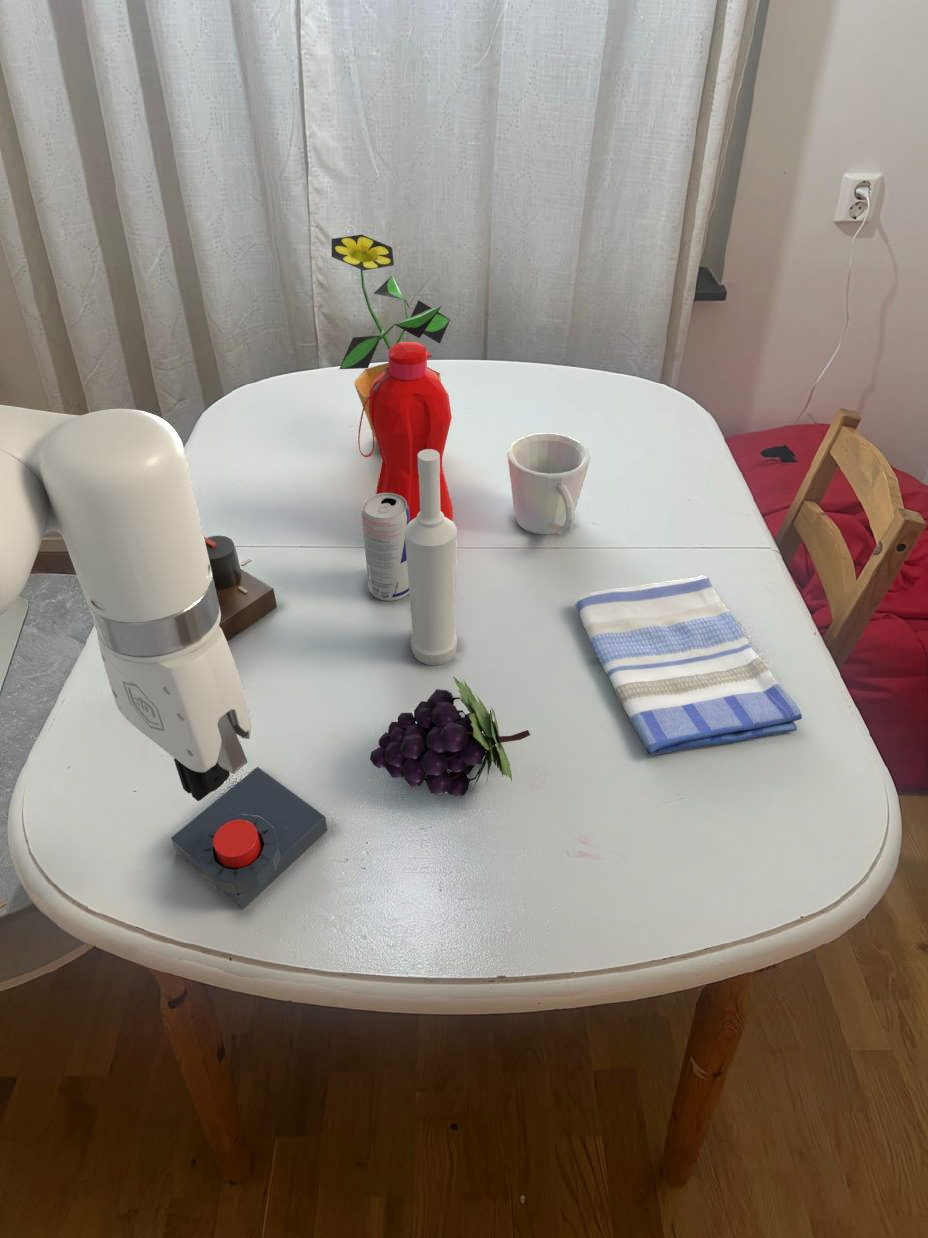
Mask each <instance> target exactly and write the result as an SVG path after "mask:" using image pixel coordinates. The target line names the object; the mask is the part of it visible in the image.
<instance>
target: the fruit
mask: <svg viewBox="0 0 928 1238" xmlns="http://www.w3.org/2000/svg"><path fill="white" fill-rule="evenodd" d="M452 678H453V680H454V683H455V685H456V687H457V688H458V692H459V696H460V697H458V696H457V697H454V695H453V694H452V692H450V691H448V690H446V689H440V688H439V689H438V688H436V689H435V690H434V691H433V693H432V694H431V695H430V696H429V698H427V699H426V700H424V701H422V700H420V702H419V703H418V705H417V706H416V707H415V708H414V710H413V712H400V714H399V715H398V716H397V721H391V722H390V724H389V725H388V729H387V732H386V731H385V732H384V733H383V734H382V735H381V737H379V739H378V746H379V747H376V748H375V749H374V750H372V751H371V752H370V756H369V757H370V758H369V760H370V761H371V764H372V765H373V766H374V767H376V768H378V769H385V770H386V771H387V772H388V774H389V776H390V777H391V778H393V779H403V780H404V781H405V782H406V784H407V785H408V786H409V787H410V788H418V787H421V786H422V785H423V783H424V782H425V784H426V786H427V789H428V791H429V793H430V794H433V795H442V794H445V793H446V794H448V795H450V796H453V797H456V798H461V797H463V796H464V795H465V794H466V793H467V792H468V791H469V787H470V782H471V781H475V782H474V785H473V788H472V790H471V792H470V794H469V795H471V794H472V792H473V790H474V789H475V787H476V785H477V783H478V781H479V780H480V777H481V775H482V773H483V770H484V769H485V767H486V764H487V775H489V773H490V769H491V766H492V762H493V764H494V767H497V769H498V770H499V772H501V777H502V778H503V777H504V776H506V777H508V779H509V780H510V782H513V775H512V769H511V764H510V761H509V758H508V755H507V754H506V751H505V748H504V746H503V744H504V743H508V742H509V743H510V742H515V741H521V740H523V739H526V738H528V737H530V736H531V733H530V731H529V729H526V730H524V731H520V732H517V733H515V734H512V735H500V730H499V725H498V720H497V716H496V713H495V709H494V708H492V707H490V710H489V711H488V709H487V707H486V706H485V704H484V703H483V701H482V700H481V699H480V697H479V696H478V695H477V694H473V691H472V689H471V688H470V686H469V685H468V684H467V682H466V680H464V678H462V679H463V681H462V680H458V678H457V677H456V676H454V675H453V676H452ZM475 695H476V696H475ZM455 700H460V701H461V702H462V704H463V705H464V707H465V708H466V709H467V711H468V712H469V713H465V711H464V710H463V709H458V708H457V706H456V705H455ZM461 714H463V716H462V715H461ZM477 765H478V766H479V765H480V766H479V769H478V770H477V772H476V774H475V776H474V777H472V778H469V777H468V776H469V775H470V774H471V772H472V771H473V769H475V767H476V766H477ZM488 779H489V777H487V778H486V781H489V780H488ZM487 784H488V782H486V783H485V785H487Z"/></svg>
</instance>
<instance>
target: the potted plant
mask: <svg viewBox="0 0 928 1238" xmlns="http://www.w3.org/2000/svg"><path fill="white" fill-rule="evenodd" d="M393 251H394V250H393V247H392V246H390V245H387V244H385V243H383V242H380V241H378V240H375V239H373V238H370V237H369V236H366V235H364V234H355V235H350V236H342V237H335V238H331V258H333V259H336V260H337V261H340V262H343V263H345V264H347V265H350V266H352V267H354V268H355V269H356V268H357V269H359V270H360V280H361V281H360V282H361V289H362V292H363V296H364V298H365V302H366V306H367V310H368V311H369V313H370V315H371V318H372V320H373V321H374V323H375V325H376V327H377V329H378V331H379V335H371V336H369V335H368V336H353V337H352V338H351V341H350V343H349V346H348V348H347V350H346V352H345V355H344V357H343V359H342V362H341V364H340V366H339V370H359V369H364V370H362V372H361V373H360V374H359V376H358V377H357V378H356V379H355V381H354V382H353V384H354V387H355V390H356V392H357V395H358V398H359V400H360V403H361V405H362V408H363V407H364V404H365V401H366V400H367V398H368V397H369V391H370V388H371V385H372V383H373V381H374V380H375V379H376V378H377V377H378V376H379V375H380V374H381V373H383V372H385V371H384V369H385V367H389V362H386V363H382V364H378V365H374V366H371V367H369V366H370V364H371V362H372V359H373V357H374V355H375V352H376V350H377V348H378V345H379V343H380V340H382V339H383V341H384V344H385V345H386V347H387V350H389V349H390V348H391V347H392V345H391V342H390V341H389V339H388V337H387V335H388V334H389V332H390V331H391V330H392V329H394V327H395V326H396V327H397V328H400V329H401V330H402V331H401V333H400V335H399V337H397V340H396V342H395V344H397V343H400V342H402V339H403V337H404V335H405V333H406V332H407V333H409V334H411V335H413V336H414V337H415V338H418V339H420V338H421V337H422V336H423V335H424V336H426V337H428V338H429V339H431V340H433V341H435V342H436V343H438V344H440V345H441V341H442V340H443V338H444V335H445V334H446V331H447V328H448V326H449V324H450V321H451V318H449V317H447V316H445V315H444V314H443V313H441V312H439V311H440V309H441V308H442V307H443V305H442V304H440V305H438V306H436V307H431V306H429V305H427V304H426V303H424V302H422V301H421V300H419V299H418V300H417V303H416V304H415V307H414V308H413V311H412V313H411V315H410V317H409V314H408V309H407V307H408V308H409V309H410V306H409V302H408V301H407V299H406V298H405V297H404V295H403V293H402V291H401V289H400V287H399V286H398V284H397V282H396V280H395V278H394V276H393V275H391V276H389V277H388V278H387V280H385V281H384V283H383V284H381V285H380V287H378V288H377V289H376V290H375V291H374V292H373V295H379V296H384V297H388V298H392V299H393V298H394V299H399V300H403V303H404V311H405V319H404V320H401V321H399V322H398V323H397V322H395V323H394V324H392V326H390V327H389V328H387V330H385V329H384V328H383V326H382V324H381V322H380V321H379V320H378V318H377V316H376V313H375V312H374V310H373V309H372V306H371V302H370V299H369V296H368V292H367V289H366V286H365V278H364V271H369V270H374V269H381V268H386V267H393V266H395V264H394V253H393ZM410 310H411V309H410ZM427 369H429V370H431V371H433V372H435V374H436V375H437V377H438V379H439V380H440V382H441V383H442V381H441V373H440V372H438V371H436V370H434V369H432V368H430V367H429V366H427ZM364 413H365V416H366V419H367V422H368V424H369V426H370V430H372V425H373V424H372V425H371V418H370V414H369V400H368V401H367V403H366V406H365V409H364ZM373 434H374V441H375V442H376V445H377V446H378V442H377V438H376V434H375V430H374V427H373ZM373 434H372V435H373Z"/></svg>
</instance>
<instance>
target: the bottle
mask: <svg viewBox="0 0 928 1238" xmlns="http://www.w3.org/2000/svg"><path fill="white" fill-rule="evenodd" d="M418 474H419V492H420V512H419V513H418V514H417V517H416V518H415V519H413V520H411V521H410V522H409V523H408V524H407V525H406V527H405V544H406V556H407V569H408V581H409V594H408V595H409V604H410V616H411V617H410V618H411V619H410V620H411V630H412V631H411V632H412V633H411V635H410V648H411V651H412V654H413V655H414V658H415V659H416V660H417V661H419V662H420V663H422V664H424V665H428V666H439V665H444V664H446V663H448V662H450V661H451V660H452V659H453V658H454V656H455V654H456V653H457V647H458V635H457V633H456V594H457V593H456V591H457V590H456V588H457V548H458V547H457V546H458V544H457V543H458V542H457V540H458V539H457V538H458V528H457V525H456V524H455V522H454V521H453V522H452V521H451V520H449V519H448V518H446V517H444V514H443V512H441V511H440V454H439V452H438V451H436V450H432V449H426V450H422V451H420V452H419V453H418Z"/></svg>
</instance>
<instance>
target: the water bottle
mask: <svg viewBox="0 0 928 1238" xmlns="http://www.w3.org/2000/svg"><path fill="white" fill-rule="evenodd" d="M387 355H388V357H387V358H388V359H387V361H388V363H389V367H385V369H384V371H385V372H383V373H381V374H380V375H379V376H378V377H377V378H376V379H375V380H374V381H373V383H372V385H371V388H370V391H369V397H368V398H367V400H366V401H365V404H364V407H363V406H362V411H361V414H360V421H359V425H358V436H357V440H358V441H357V443H358V449H359V453H360V455H361V456H362V457H364V458H369V457H371V456H372V455H373V453H374V451H375V450H374V449H375V437H374V434H373V427H374V430H375V434H376V438H377V442H378V445H377V446H378V450H379V454H380V458H381V465H380V471H379V474H378V481H377V486H376V491H375V495H376V494H380V493H393V494H397V495H400V496H401V497H403V498H404V499H405V500H406V502H407V505H408V507H409V510H410V521H411V520H413V519H415V518H416V517H417V514H418V513H419V512H420V492H419V474H418V453H419V452H420V451H422V450H426V449H432V450H436V451H438V452H439V454H440V511H441V512H443V514H444V517H446V518H448V519H449V520H451V521H452V522H454V517H453V515H454V514H453V504H452V500H451V499H452V498H451V496H450V492H449V488H448V483H447V480H446V476H445V472H444V467H443V455H444V452H445V448H446V444H447V439H448V435H449V431H450V426H451V422H452V418H453V417H452V409H451V403H450V396H449V393H448V391H447V390H446V388H445V387H444V385H443V383H442V381H441V382H440V380H439V379H438V377H437V375H436V374H435V372H433V371H431V370H429V369H427V367H428V358H432V357H433V356H432V355H431V353H430V352H429V351H427V347H426V346H425V345H424V344H421V343H419V342H416V341H400V343H397V344H396V343H395V344H393V345H391V348H390V349H388V354H387ZM368 400H369V414H370V418H371V425H372V424H373V425H372V429H371V432H372V433H371V435H372V449H371V452H370V453H368V454H364V453H363V452H362V451H361V445H360V443H361V442H360V438H361V437H360V435H361V427H362V421H363V416H364V413H365V411H364V409H365V406H366V403H367V401H368Z"/></svg>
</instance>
